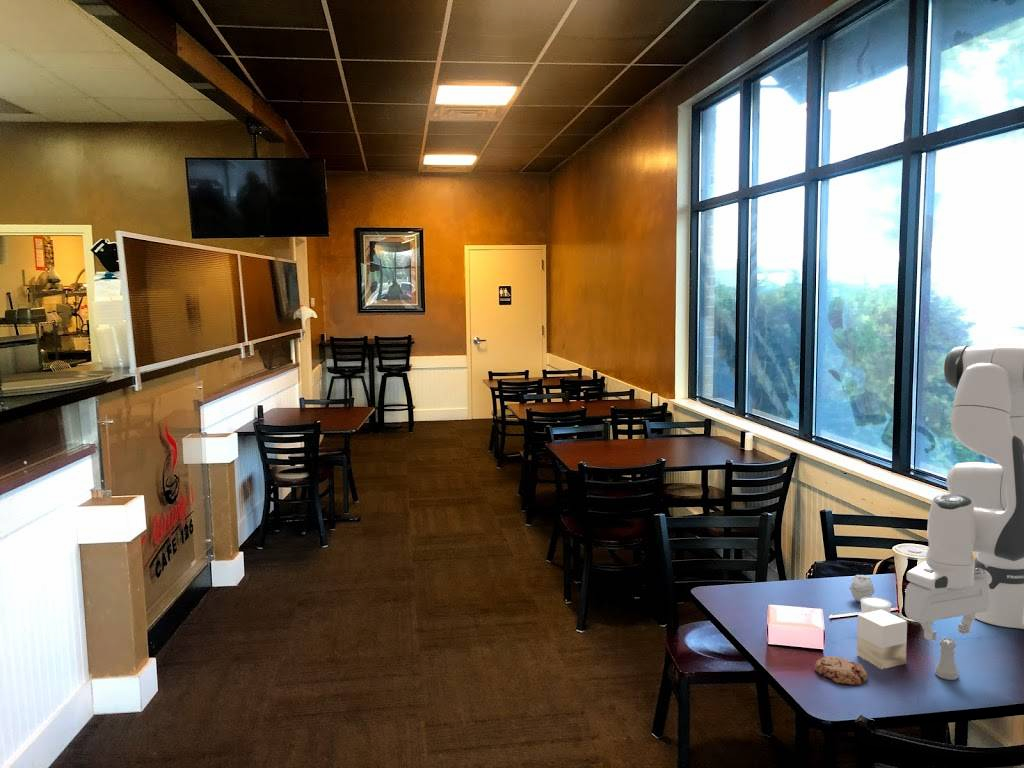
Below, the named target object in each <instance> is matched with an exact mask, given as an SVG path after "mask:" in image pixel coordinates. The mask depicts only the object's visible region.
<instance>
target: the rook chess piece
mask: <svg viewBox="0 0 1024 768" xmlns="http://www.w3.org/2000/svg"><path fill="white" fill-rule="evenodd" d="M938 644H939V646H940V649H939V651H940V656H939V660H938V662H937V664H936V665H935V666H934V667H935V670H934V673H935V674H936V676H938V677H939V678H941V679H943V680H948V681H955V680H957V679H958V678H959V677H960V675H959V674H958V673H959V669H958V667H957V665H956V663H955V653H956V651H955V648H956V647H957V644H956V643H955V639H952V638H950V637H948V639H947V637H940V641H939V642H938Z"/></svg>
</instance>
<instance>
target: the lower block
mask: <svg viewBox="0 0 1024 768" xmlns="http://www.w3.org/2000/svg"><path fill="white" fill-rule="evenodd" d="M856 639H857V645H856V656H857V655H858V656H860V657H862V658H863V659H862V658H861V659H862V660H864V659H865V660H867V661H869V662H870V663H869V662H868V663H869V664H871V663H872V664H874V665H875V666H874V665H873V666H874V667H876V666H877V667H876V668H878V669H880V670H885V669H889V668H894V667H898V666H902V665H906V664H907V642H906V643H903V644H899V645H895V646H890V647H886V648H880V647H878V646H876V645H875V644H873V643H871V642H869V641H867V640H865V639H863V638H861V637H859V636H857V637H856ZM858 656H857V657H858ZM860 657H859V658H860ZM865 660H864V661H865ZM867 661H866V662H867ZM872 664H871V665H872ZM897 665H898V666H897ZM884 668H885V669H884Z"/></svg>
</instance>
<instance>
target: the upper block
mask: <svg viewBox="0 0 1024 768" xmlns="http://www.w3.org/2000/svg"><path fill="white" fill-rule="evenodd" d="M907 634H908V621H907V620H906V619H904V618H901V617H900V616H896V615H895V614H893V613H891V612H890V613H888V612H886V611H884V610H877V611H872V612H867V613H863V614H862V613H859V614H857V636H859V637H861V638H863V639H865V640H867V641H869V642H871V643H873V644H875V645H876V646H878V647H880V648H886V647H890V646H895V645H899V644H903V643H906V644H907V637H908V636H907Z"/></svg>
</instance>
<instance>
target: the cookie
mask: <svg viewBox="0 0 1024 768" xmlns="http://www.w3.org/2000/svg"><path fill="white" fill-rule="evenodd" d="M814 671H815V672H816V673H818V674H819V675H821V676H823V678H824V677H825V678H828V679H831V680H832V681H833V682H835V683H837V684H847V685H861V684H862V683H865V682H866V681H867V679H868V673H867V671H866V670H865V668H864V666H863V665H862V664H860V663H857V662H855V661H850V660H849V659H847V658H843V657H839V656H823V657H821V658H819V659H818V660H817V661H816V662H815V665H814ZM861 682H862V683H861Z"/></svg>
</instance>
